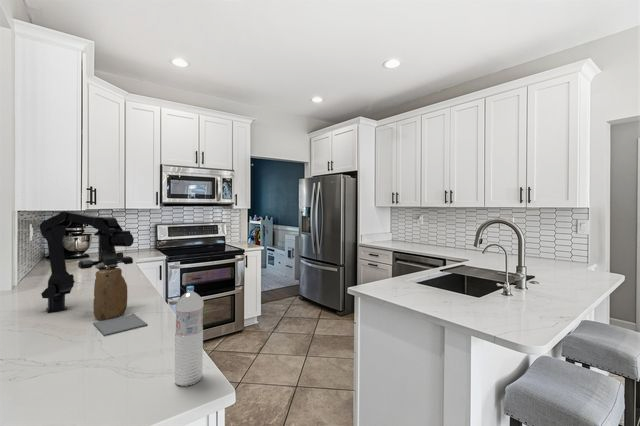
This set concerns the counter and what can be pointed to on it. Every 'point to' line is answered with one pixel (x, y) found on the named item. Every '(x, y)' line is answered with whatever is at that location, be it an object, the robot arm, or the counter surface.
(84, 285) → the counter surface
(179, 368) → the water bottle
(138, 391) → the counter surface
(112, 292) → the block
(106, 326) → the mat
